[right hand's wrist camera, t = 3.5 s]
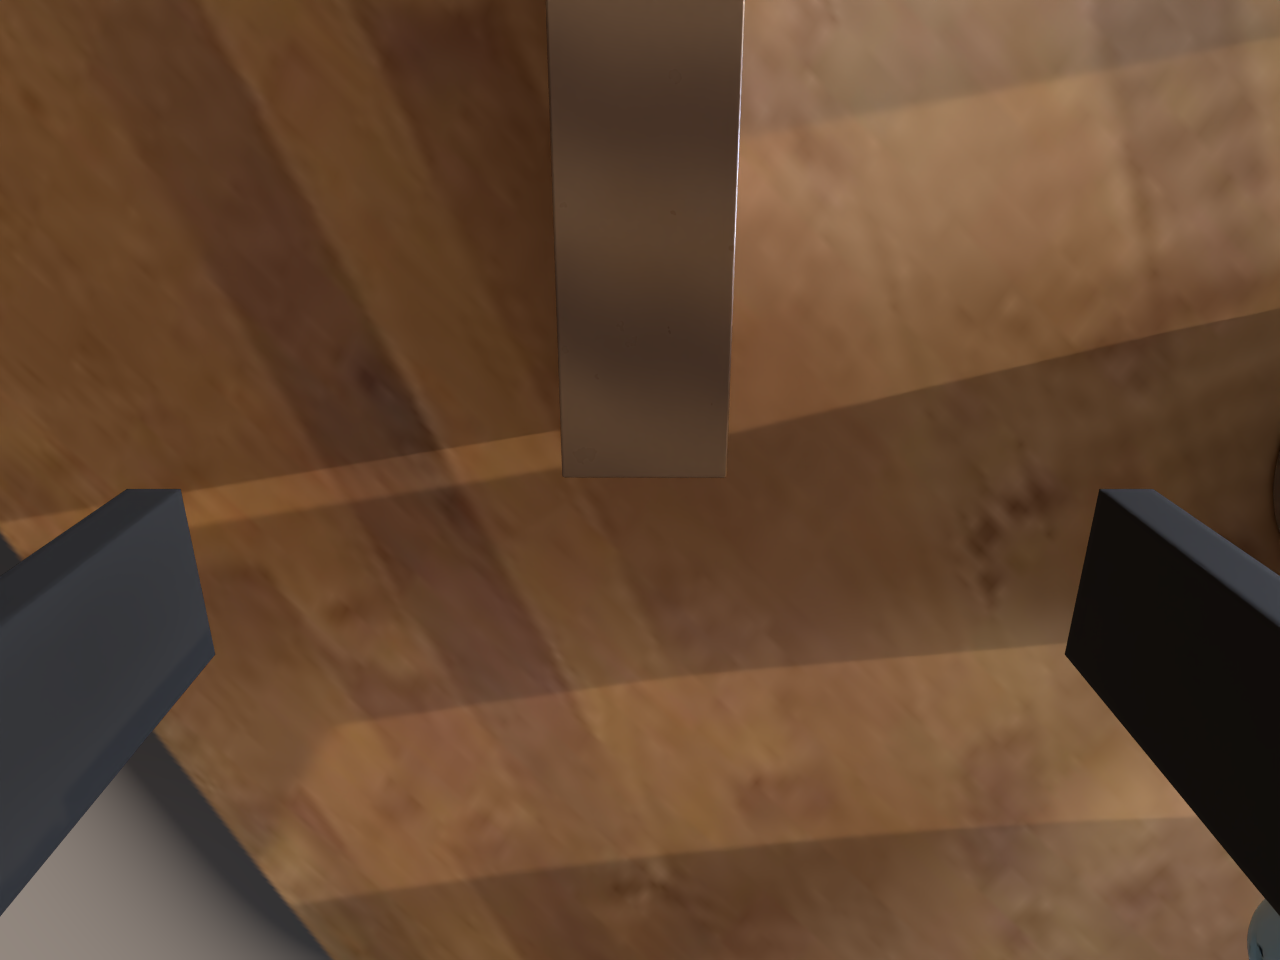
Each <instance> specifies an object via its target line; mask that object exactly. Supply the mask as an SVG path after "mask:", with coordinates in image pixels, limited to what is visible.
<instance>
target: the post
mask: <svg viewBox="0 0 1280 960" xmlns="http://www.w3.org/2000/svg"><path fill="white" fill-rule="evenodd" d="M744 14H745V0H546V25H547V53H548V82H549V110H550V139H551V167H552V196H553V224H554V253H555V281H556V310H557V338H558V367H559V396H560V424H561V453H562V476H563V477H701V478H724V477H726V475H727V450H728V424H729V399H730V373H731V348H732V322H733V296H734V271H735V245H736V219H737V194H738V168H739V143H740V117H741V91H742V66H743V40H744Z"/></svg>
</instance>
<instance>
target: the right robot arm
mask: <svg viewBox="0 0 1280 960" xmlns="http://www.w3.org/2000/svg"><path fill="white" fill-rule="evenodd" d="M1273 501H1274V510H1275V517H1276V521H1277V525H1278V529H1279V532H1280V452H1279V456H1278V460H1277V464H1276V469H1275V477H1274V493H1273ZM214 655H215V651H214V646H213V641H212V637H211V632H210V627H209V622H208V618H207V613H206V608H205V603H204V598H203V594H202V589H201V584H200V579H199V575H198V570H197V565H196V560H195V556H194V551H193V546H192V541H191V537H190V532H189V527H188V522H187V518H186V513H185V508H184V503H183V498H182V494H181V489H126V490H125V491H123V492H122V493H121V494H119V495H118V496H116V497H115V498H113V499H112V500H110V501H109V502H107V503H106V504H104V505H103V506H102V507H100V508H99V509H97V510H96V511H94V512H93V513H91V514H90V515H88V516H87V517H86V518H84V519H83V520H81V521H80V522H78V523H77V524H75V525H74V526H72V527H71V528H70V529H68V530H67V531H65V532H64V533H62V534H61V535H59V536H58V537H56V538H55V539H53V540H52V541H51V542H49V543H48V544H46V545H45V546H43V547H42V548H40V549H39V550H37V551H36V552H35V553H33V554H32V555H30V556H29V557H27V558H26V559H24V560H23V561H21V562H20V563H18V564H17V565H16V566H14V567H13V568H11V569H10V570H8V571H7V572H5V573H4V574H2V575H1V576H0V916H1V915H2V913H3V912H4V911H5V910H6V908H7V907H8V906H9V905H10V904H11V902H12V901H13V900H14V899H15V898H16V896H17V895H18V894H19V893H20V892H21V890H22V889H23V888H24V887H25V885H26V884H27V883H28V882H29V881H30V879H31V878H32V877H33V876H34V875H35V873H36V872H37V871H38V870H39V868H40V867H41V866H42V865H43V864H44V862H45V861H46V860H47V859H48V857H49V856H50V855H51V854H52V853H53V851H54V850H55V849H56V848H57V847H58V845H59V844H60V843H61V842H62V840H63V839H64V838H65V837H66V836H67V834H68V833H69V832H70V831H71V829H72V828H73V827H74V826H75V825H76V823H77V822H78V821H79V820H80V818H81V817H82V816H83V815H84V814H85V812H86V811H87V810H88V809H89V808H90V806H91V805H92V804H93V803H94V801H95V800H96V799H97V798H98V797H99V795H100V794H101V793H102V792H103V790H104V789H105V788H106V787H107V786H108V784H109V783H110V782H111V781H112V779H113V778H114V777H115V776H116V775H117V773H118V772H119V771H120V770H121V769H122V767H123V766H124V765H125V764H126V762H127V761H128V760H129V759H130V758H131V756H132V755H133V754H134V753H135V752H136V750H137V749H138V748H139V747H140V745H141V744H142V743H143V742H144V741H145V739H146V738H147V737H148V736H149V734H150V733H151V732H152V731H153V730H154V728H155V727H156V726H157V725H158V723H159V722H160V721H161V720H162V719H163V717H164V716H165V715H166V714H167V713H168V711H169V710H170V709H171V708H172V706H173V705H174V704H175V703H176V702H177V700H178V699H179V698H180V697H181V695H182V694H183V693H184V692H185V691H186V689H187V688H188V687H189V686H190V685H191V683H192V682H193V681H194V680H195V678H196V677H197V676H198V675H199V674H200V672H201V671H202V670H203V669H204V667H205V666H206V665H207V664H208V663H209V661H210V660H211V659H212V658H213V657H214ZM1065 655H1066V657H1067V658H1068V659H1069V660H1070V661H1071V663H1072V664H1073V665H1074V666H1075V667H1076V669H1077V670H1078V671H1079V672H1080V674H1081V675H1082V676H1083V677H1084V678H1085V680H1086V681H1087V682H1088V683H1089V685H1090V686H1091V687H1092V688H1093V689H1094V691H1095V692H1096V693H1097V694H1098V695H1099V697H1100V698H1101V699H1102V700H1103V702H1104V703H1105V704H1106V705H1107V706H1108V708H1109V709H1110V710H1111V711H1112V713H1113V714H1114V715H1115V716H1116V717H1117V719H1118V720H1119V721H1120V722H1121V723H1122V725H1123V726H1124V727H1125V728H1126V730H1127V731H1128V732H1129V733H1130V734H1131V736H1132V737H1133V738H1134V739H1135V741H1136V742H1137V743H1138V744H1139V745H1140V747H1141V748H1142V749H1143V750H1144V752H1145V753H1146V754H1147V755H1148V756H1149V758H1150V759H1151V760H1152V761H1153V762H1154V764H1155V765H1156V766H1157V767H1158V769H1159V770H1160V771H1161V772H1162V773H1163V775H1164V776H1165V777H1166V778H1167V780H1168V781H1169V782H1170V783H1171V784H1172V786H1173V787H1174V788H1175V789H1176V790H1177V792H1178V793H1179V794H1180V795H1181V797H1182V798H1183V799H1184V800H1185V801H1186V803H1187V804H1188V805H1189V806H1190V808H1191V809H1192V810H1193V811H1194V812H1195V814H1196V815H1197V816H1198V817H1199V818H1200V820H1201V821H1202V822H1203V823H1204V825H1205V826H1206V827H1207V828H1208V829H1209V831H1210V832H1211V833H1212V834H1213V836H1214V837H1215V838H1216V839H1217V840H1218V842H1219V843H1220V844H1221V845H1222V847H1223V848H1224V849H1225V850H1226V851H1227V853H1228V854H1229V855H1230V856H1231V857H1232V859H1233V860H1234V861H1235V862H1236V864H1237V865H1238V866H1239V867H1240V868H1241V870H1242V871H1243V872H1244V873H1245V875H1246V876H1247V877H1248V878H1249V879H1250V881H1251V882H1252V883H1253V884H1254V885H1255V887H1256V888H1257V889H1258V890H1259V892H1260V893H1261V894H1262V895H1263V896H1264V898H1265V899H1264V900H1263V901H1262V902H1261V904H1260V905H1259V906H1258V908H1257V909H1256V910H1255V912H1254V914H1253V916H1252V919H1251V922H1250V925H1249V929H1248V937H1247V948H1248V954H1249V960H1280V576H1279V575H1278V574H1276V573H1275V572H1273V571H1272V570H1270V569H1269V568H1267V567H1266V566H1264V565H1263V564H1261V563H1260V562H1259V561H1257V560H1256V559H1254V558H1253V557H1251V556H1250V555H1248V554H1247V553H1245V552H1244V551H1243V550H1241V549H1240V548H1238V547H1237V546H1235V545H1234V544H1232V543H1231V542H1229V541H1228V540H1227V539H1225V538H1224V537H1222V536H1221V535H1219V534H1218V533H1216V532H1215V531H1213V530H1212V529H1210V528H1209V527H1208V526H1206V525H1205V524H1203V523H1202V522H1200V521H1199V520H1197V519H1196V518H1194V517H1193V516H1192V515H1190V514H1189V513H1187V512H1186V511H1184V510H1183V509H1181V508H1180V507H1178V506H1177V505H1176V504H1174V503H1173V502H1171V501H1170V500H1168V499H1167V498H1165V497H1164V496H1162V495H1161V494H1159V493H1158V492H1157V491H1155V490H1154V489H1099V494H1098V498H1097V503H1096V508H1095V513H1094V517H1093V522H1092V527H1091V532H1090V537H1089V541H1088V546H1087V551H1086V556H1085V560H1084V565H1083V570H1082V575H1081V579H1080V584H1079V589H1078V594H1077V598H1076V603H1075V608H1074V613H1073V618H1072V622H1071V627H1070V632H1069V637H1068V641H1067V646H1066V651H1065Z"/></svg>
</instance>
